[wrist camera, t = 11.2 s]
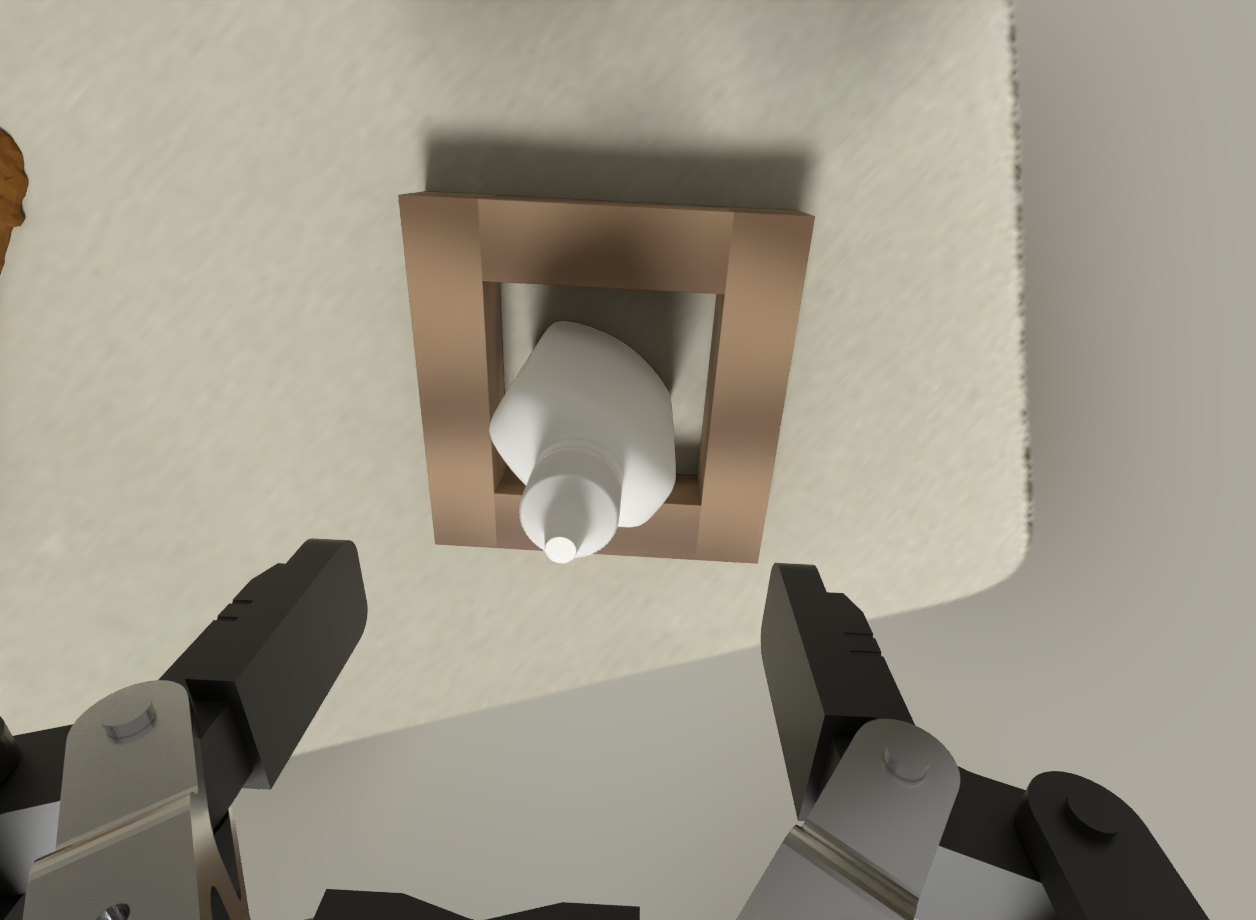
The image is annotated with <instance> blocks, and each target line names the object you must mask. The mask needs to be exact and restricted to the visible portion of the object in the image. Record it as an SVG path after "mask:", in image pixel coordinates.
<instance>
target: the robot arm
mask: <svg viewBox="0 0 1256 920" xmlns="http://www.w3.org/2000/svg"><path fill="white" fill-rule="evenodd" d="M367 611H368V609H367V600H366V595H365V589H364V584H363V579H362V573H361V568H360V563H359V558H358V552H357V548H356V546H355V544H354V543H353V542H352V541H350V540H331V539H308V540H307V541H306V542H304V543H303V545H302V546H301V547H300V548H299V549H298V550H297V551H296V553H295V554H294V555H293V556H292V557H291V558H290V559H289V561H288V562H287V563H286V564H281V563H278V564H276V565H274V566H273V567H271V568H270V569H268V570H266V571H265V572H263V573H261V574H260V575H258V576H257V577H255V578H253V579H252V580H251V581H250V582H249V583H248V584H247V585H246V586H245V587H244V588H243V589H242V590H241V591H240V592H239V593H238V595H237V596H236V597H235V598H234V599H233V603H232V604H228V605H227V606H226V607H225V609H224V610H223V611H222V612H221V613H220V614H219V615H218V619H217V620H213V621H212V623H211V624H210V625H209V626H208V627H207V628H206V629H205V630H204V631H203V632H202V633H201V634H200V635H199V637H198V638H197V639H196V640H195V641H194V642H193V643H192V644H191V645H190V646H189V647H188V648H187V649H186V651H185V652H184V653H183V654H182V655H181V656H180V657H179V658H178V659H177V660H176V661H175V662H174V663H173V665H172V666H171V667H170V668H169V669H168V670H167V671H166V672H165V673H164V674H163V675H162V676H161V677H160V679H159V680H156V681H148V682H143V683H138V684H135V685H132V686H129V687H126V688H124V689H121V690H119V691H117V692H114V693H112V694H110V695H108V696H107V697H105V698H103V699H102V700H100V701H98V702H97V703H96V704H94V705H93V706H91V707H90V708H89V709H88V710H87V711H85V712H84V713H83V714H82V715H81V716H80V717H79V718H78V719H77V720H76V722H75V723H74V724H73V725H67V726H62V727H57V728H52V729H47V730H41V731H36V732H31V733H26V734H20V735H15V736H12V734H11V732H10V731H9V729H8V727H7V726H6V724H5V722H4V720H3V719H2V718H1V717H0V920H251V919H250V914H249V908H248V902H247V895H246V889H245V882H244V876H243V869H242V863H241V856H240V850H239V844H238V837H237V831H236V824H235V818H234V814H233V811H232V808H231V804H232V803H233V801H234V799H235V798H236V796H237V795H238V793H239V791H240V790H241V788H252V789H272V787H273V785H274V783H275V782H276V780H277V778H278V777H279V775H280V773H281V772H282V770H283V768H284V767H285V765H286V763H287V761H288V760H289V758H290V756H291V755H292V753H293V751H294V750H295V748H296V746H297V745H298V743H299V741H300V740H301V738H302V736H303V735H304V733H305V731H306V729H307V728H308V726H309V724H310V723H311V721H312V719H313V718H314V716H315V714H316V713H317V711H318V709H319V708H320V706H321V704H322V703H323V701H324V699H325V697H326V696H327V694H328V692H329V691H330V689H331V687H332V686H333V684H334V682H335V681H336V679H337V677H338V676H339V674H340V672H341V670H342V669H343V667H344V665H345V664H346V662H347V660H348V659H349V657H350V655H351V654H352V652H353V650H354V649H355V647H356V645H357V643H358V642H359V640H360V638H361V636H362V634H363V632H364V629H365V625H366V621H367ZM761 653H762V660H763V665H764V669H765V674H766V678H767V683H768V687H769V692H770V696H771V701H772V705H773V710H774V714H775V719H776V723H777V728H778V733H779V737H780V742H781V746H782V751H783V755H784V760H785V764H786V769H787V773H788V778H789V782H790V787H791V791H792V796H793V800H794V805H795V810H796V814H797V819H798V821H805V822H804V824H803V825H802V826H801V827H799V826H798V825H795V826H794V827H793V828H792V829H791V830H790V832H789V833H788V834H787V836H786V837H785V839H784V841H783V842H782V844H781V846H780V847H779V849H778V851H777V852H776V854H775V855H774V857H773V859H772V861H771V862H770V864H769V866H768V867H767V869H766V871H765V872H764V874H763V876H762V877H761V879H760V881H759V882H758V884H757V886H756V887H755V889H754V891H753V892H752V894H751V896H750V897H749V899H748V901H747V902H746V904H745V906H744V907H743V909H742V911H741V912H740V914H739V916H738V918H737V919H736V920H914V918H917V919H919V920H1209V919H1208V917H1207V916H1206V914H1205V912H1204V911H1203V910H1202V908H1201V907H1200V905H1199V904H1198V902H1197V901H1196V899H1195V898H1194V896H1193V895H1192V893H1191V892H1190V890H1189V889H1188V887H1187V886H1186V884H1185V883H1184V881H1183V880H1182V879H1181V877H1180V875H1179V874H1178V872H1177V871H1176V869H1175V868H1174V867H1173V865H1172V864H1171V862H1170V861H1169V859H1168V858H1167V856H1166V855H1165V853H1164V852H1163V850H1162V849H1161V847H1160V846H1159V844H1158V843H1157V841H1156V840H1155V838H1154V837H1153V835H1152V834H1151V833H1150V831H1149V829H1148V828H1147V827H1146V825H1145V824H1144V822H1143V821H1142V820H1141V819H1140V817H1139V816H1138V815H1137V814H1136V813H1135V812H1134V811H1133V810H1132V808H1131V807H1129V806H1128V805H1127V804H1126V803H1125V802H1124V801H1123V800H1121V799H1120V798H1119V797H1117V796H1116V795H1115V794H1113V793H1112V792H1111V791H1109V790H1107V789H1106V788H1104V787H1103V786H1101V785H1099V784H1097V783H1095V782H1093V781H1091V780H1089V779H1086V778H1084V777H1081V776H1078V775H1075V774H1072V773H1067V772H1060V771H1050V772H1044V773H1041V774H1039V775H1037V776H1036V777H1034V778H1033V779H1032V781H1031V782H1030V784H1029V786H1028V788H1027V790H1023V789H1020V788H1017V787H1014V786H1010V785H1008V784H1004V783H1002V782H998V781H995V780H992V779H989V778H986V777H983V776H980V775H977V774H974V773H972V772H969V771H967V770H965V769H963V768H961V767H959V766H957V764H956V762H955V760H954V758H953V757H952V755H951V754H950V752H949V751H948V750H947V749H946V748H945V746H944V745H943V744H942V743H941V742H940V741H938V740H937V739H936V738H935V737H934V736H932V735H931V734H930V733H928V732H926V731H925V730H923V729H921V728H919V727H917V726H915V724H914V722H913V720H912V717H911V715H910V713H909V711H908V709H907V707H906V704H905V702H904V700H903V698H902V696H901V694H900V691H899V689H898V687H897V685H896V683H895V681H894V678H893V676H892V674H891V672H890V670H889V668H888V665H887V663H886V661H885V659H884V657H882V656H881V651H880V648H879V646H878V644H877V642H876V639H875V638H873V633H872V631H871V629H870V627H869V624H868V622H867V620H866V618H865V616H864V613H863V612H862V611H861V610H860V609H859V608H858V607H857V606H856V605H855V604H854V603H853V602H852V601H851V600H850V599H849V598H848V597H847V596H846V595H845V594H844V593H829V592H826V589H825V587H824V584H823V582H822V579H821V577H820V574H819V572H818V570H817V568H816V566H815V565H806V564H786V563H774V565H773V567H772V570H771V575H770V580H769V586H768V592H767V598H766V603H765V609H764V615H763V621H762V627H761ZM639 917H640V907H635V906H617V905H599V904H583V903H564V902H562V903H558V904H554V905H548V906H544V907H540V908H535V909H531V910H527V911H522V912H518V913H513V914H509V915H505V916H501V917H496V918H491V919H487V920H640V918H639ZM306 920H473V919H469V918H466V917H464V916H461V915H458V914H456V913H453V912H451V911H448V910H445V909H443V908H440V907H438V906H435V905H432V904H430V903H427V902H424V901H422V900H419V899H416V898H414V897H411V896H409V895H406V894H403V893H388V892H371V891H353V890H333V889H326V891H325V893H324V896H323V898H322V900H321V903H320V905H319V907H318V910H317V912H316V914H315V916H314V918H310V919H306Z"/></svg>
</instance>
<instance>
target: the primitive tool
mask: <svg viewBox="0 0 1256 920" xmlns="http://www.w3.org/2000/svg"><path fill="white" fill-rule="evenodd" d="M28 185H29V182H28V178H27V176H26V175H25V174H24V160H23V155H22V152H21V150H20V149H19V147H18V145H17V144H16V143H15V141H14V139H13V138H12V137H10V136H8V135H7V134H6V133H5V132H3V131H2V130H0V274H1V271H2V268H3V266H4V264H5V262H4V257H5V253H6V251H7V248H8V245H9V242H10V237H11V231H12V229H13V227H16V226H21V225H22V223H23V221H24V220H25V218H24V216H23V214H22V212H21V201H22V199H23V198H24V197H25V195H26V192H27V188H28Z"/></svg>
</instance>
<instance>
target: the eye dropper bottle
mask: <svg viewBox="0 0 1256 920" xmlns="http://www.w3.org/2000/svg"><path fill="white" fill-rule="evenodd" d="M489 432H490V436H491V439H492V442H493V444H494V445H495V447H496V449H497V451H498V452H499V454H500V455H501V457H502V458H503V459H504V461H505V462H506V463H507V465H508V466H509V467H510V469H511V470H512V471H513V472H514V473H515V474H516V476H517V477H518V478H519V479H520V480H521V481H522V482H523V483H524V484H525V485H526V487H525V490H524V492H523V495H522V498H521V501H520V506H519V509H520V510H519V514H520V516H519V518H520V519H521V520H520V522H521V523H522V525H521V526H522V527H523V528H524V529H523V530H524V531H525V532H526V535H527V536H529V539H531V540H532V542H533V543H535V545H537V546H538V547H539V548H541V549H543V550H544V551H545V553H546V555H547V556H548V558H549V559H550V560H552V561H554V562H556V563H567V562H569V561H571V560H572V559H573V558H574V557H576V558H578V557H583V556H588V555H590V554H593V553H595V552H597V551H598V550H601V548H603V547H605V545H607V544H608V542H609V541H611V538H612V537H614V534H615V533H616V529H617V528H618V527H636V526H640V525H642V524H643V523H645V522H647V521H648V520H649V519H650V518H651V517H652V516H653V515H654V513H655V512H656V511H657V510H658V509H659V508H660V506H661V505H662V504H663V503H664V502H665V500H666V499H667V497H668V496H669V495H670V493H671V492H672V489H673V486H674V484H675V479H676V462H675V444H674V428H673V414H672V403H671V397H670V394H669V392H668V390H667V388H666V386H665V385H664V383H663V382H662V380H661V379H660V377H659V376H658V375H657V373H656V372H655V371H654V370H653V369H652V367H651V366H650V365H649V364H648V363H647V362H646V361H645V360H644V359H643V358H642V357H641V356H640V355H639V354H638V353H636V352H635V351H634V350H633V349H631V348H630V347H629V346H627V345H626V344H624V343H623V342H621V341H620V340H618V339H616V338H615V337H613V336H611V335H609V334H607V333H605V332H602V331H600V330H598V329H595V328H592V327H589V326H586V325H583V324H579V323H575V322H569V321H559V322H555V323H553V324H552V325H551V326H550V327H549V328H548V329H547V330H546V332H545V333H544V334H543V336H542V337H541V339H540V340H539V342H538V344H537V345H536V347H535V348H534V350H533V351H532V353H531V354H530V356H529V357H528V359H527V361H526V362H525V364H524V365H523V367H522V368H521V370H520V372H519V373H518V375H517V376H516V378H515V379H514V381H513V383H512V384H511V386H510V387H509V389H508V391H507V392H506V394H505V395H504V397H503V399H502V400H501V402H500V404H499V406H498V407H497V409H496V411H495V413H494V414H493V416H492V419H491V422H490V427H489Z"/></svg>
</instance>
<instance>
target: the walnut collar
mask: <svg viewBox="0 0 1256 920" xmlns="http://www.w3.org/2000/svg"><path fill="white" fill-rule="evenodd" d="M398 197H399V207H400V216H401V226H402V235H403V244H404V254H405V263H406V273H407V282H408V292H409V301H410V310H411V320H412V329H413V339H414V348H415V358H416V367H417V376H418V386H419V395H420V405H421V414H422V424H423V433H424V442H425V452H426V461H427V471H428V480H429V490H430V499H431V508H432V518H433V527H434V537H435V544H439V545H456V546H473V547H489V548H506V549H523V550H540V551H544V550H543V549H541V548H539V547H538V546H537V545H535V543H533V542H532V540H531V539H529V536H527V535H526V532H525V531H524V530H523V529H524V528H523V527H522V526H521V525H522V523H521V522H520V520H521V519H520V518H519V516H520V514H519V510H520V509H519V506H520V501H521V498H522V495H523V492H524V490H525V487H526V485H525V484H524V483H523V482H522V481H521V480H520V479H519V478H518V477H517V476H516V474H515V473H514V472H513V471H512V470H511V469H510V467H509V466H508V465H507V463H506V462H505V461H504V459H503V458H502V457H501V455H500V454H499V452H498V451H497V449H496V447H495V445H494V444H493V442H492V439H491V436H490V432H489V427H490V422H491V419H492V416H493V414H494V413H495V411H496V409H497V407H498V406H499V404H500V402H501V400H502V399H503V397H504V395H505V391H504V367H503V344H502V321H501V298H500V282H508V283H527V284H545V285H564V286H583V287H601V288H620V289H638V290H657V291H676V292H694V293H713V294H717V295H716V304H715V314H714V323H713V332H712V342H711V351H710V361H709V370H708V380H707V389H706V398H705V408H704V417H703V427H702V436H701V446H700V455H699V465H698V474H697V476H688V475H676V479H675V484H674V486H673V489H672V492H671V493H670V495H669V496H668V497H667V499H666V500H665V502H664V503H663V504H662V505H661V506H660V508H659V509H658V510H657V511H656V512H655V513H654V515H653V516H652V517H651V518H650V519H649V520H648V521H647V522H645V523H643V524H642V525H640V526H636V527H618V528H617V529H616V533H615V534H614V537H612V538H611V541H609V542H608V544H607V545H605V547H603V548H601V550H598V551H597V552H595V553H593V554H606V555H623V556H640V557H656V558H673V559H690V560H707V561H723V562H740V563H757V564H758V559H759V553H760V546H761V540H762V534H763V528H764V522H765V516H766V510H767V504H768V498H769V492H770V486H771V480H772V474H773V468H774V462H775V456H776V449H777V443H778V437H779V431H780V425H781V419H782V413H783V407H784V401H785V395H786V389H787V383H788V377H789V371H790V365H791V359H792V352H793V346H794V340H795V334H796V328H797V322H798V316H799V310H800V304H801V298H802V292H803V286H804V280H805V274H806V268H807V262H808V255H809V249H810V243H811V237H812V231H813V225H814V219H815V216H812V215H809V214H806V213H803V212H800V211H793V210H774V209H755V208H735V207H716V206H697V205H678V204H658V203H639V202H620V201H600V200H581V199H562V198H542V197H523V196H504V195H484V194H465V193H446V192H426V191H424V192H417V193H409V194H402V195H398Z"/></svg>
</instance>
